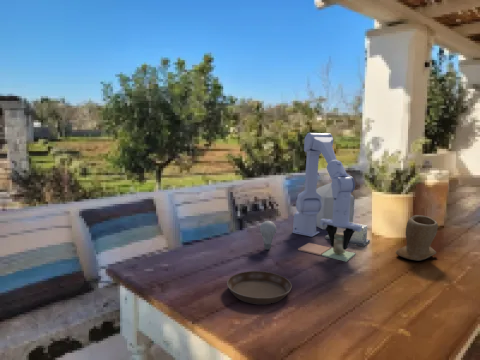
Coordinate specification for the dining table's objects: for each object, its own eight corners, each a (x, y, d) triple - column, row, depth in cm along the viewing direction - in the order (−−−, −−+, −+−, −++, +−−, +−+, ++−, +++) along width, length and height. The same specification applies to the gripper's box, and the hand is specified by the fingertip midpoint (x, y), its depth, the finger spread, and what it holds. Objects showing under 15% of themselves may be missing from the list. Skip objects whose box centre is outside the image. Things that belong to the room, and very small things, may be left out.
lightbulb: (274, 253, 130) (275, 223, 128) (258, 251, 131) (258, 222, 130) (276, 247, 136) (277, 219, 134) (260, 246, 137) (261, 218, 135)
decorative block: (306, 220, 177) (308, 180, 174) (334, 219, 181) (336, 180, 178) (323, 229, 161) (325, 186, 159) (353, 227, 166) (356, 185, 163)
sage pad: (321, 255, 128) (321, 254, 128) (331, 249, 135) (331, 247, 135) (346, 261, 123) (346, 260, 123) (355, 254, 130) (355, 253, 130)
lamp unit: (325, 238, 148) (326, 222, 147) (331, 234, 154) (332, 218, 153) (363, 246, 139) (365, 229, 138) (369, 242, 144) (370, 225, 143)
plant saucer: (252, 274, 111) (253, 265, 111) (303, 291, 100) (303, 281, 100) (213, 294, 98) (213, 284, 97) (266, 316, 87) (267, 305, 86)
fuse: (331, 252, 128) (332, 234, 127) (335, 249, 132) (336, 231, 131) (342, 254, 126) (343, 236, 125) (346, 251, 129) (347, 234, 128)
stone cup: (423, 266, 119) (427, 223, 117) (390, 256, 129) (393, 215, 127) (445, 258, 128) (450, 217, 126) (413, 248, 138) (417, 210, 135)
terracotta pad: (298, 250, 134) (298, 248, 134) (308, 244, 141) (308, 242, 141) (320, 255, 128) (320, 254, 128) (330, 248, 135) (330, 247, 135)
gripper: (317, 209, 128) (315, 245, 130) (357, 215, 119) (355, 254, 121) (325, 206, 133) (323, 241, 135) (364, 211, 125) (362, 249, 127)
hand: (339, 247), depth 129 cm, fingers closed on fuse, 4 cm apart
